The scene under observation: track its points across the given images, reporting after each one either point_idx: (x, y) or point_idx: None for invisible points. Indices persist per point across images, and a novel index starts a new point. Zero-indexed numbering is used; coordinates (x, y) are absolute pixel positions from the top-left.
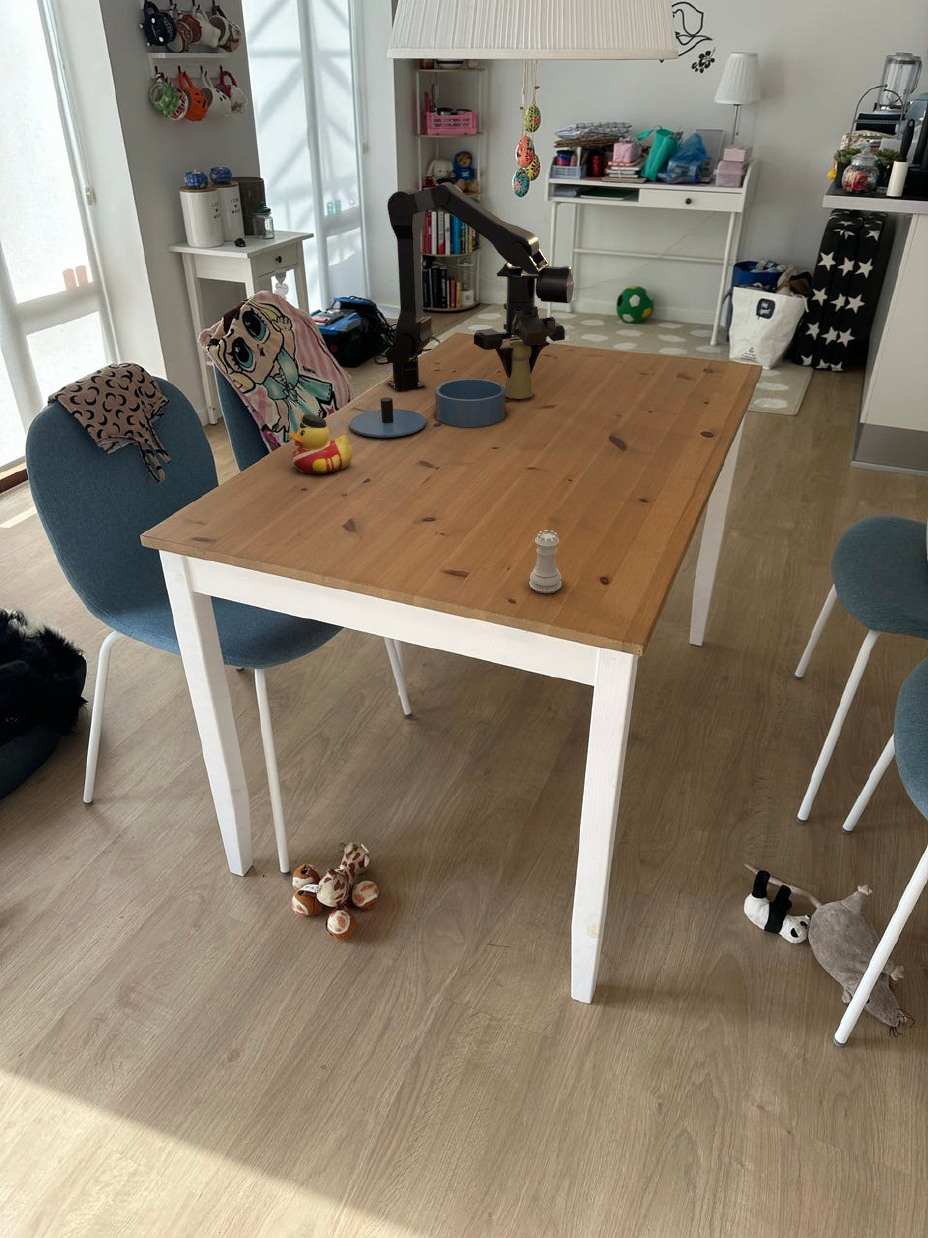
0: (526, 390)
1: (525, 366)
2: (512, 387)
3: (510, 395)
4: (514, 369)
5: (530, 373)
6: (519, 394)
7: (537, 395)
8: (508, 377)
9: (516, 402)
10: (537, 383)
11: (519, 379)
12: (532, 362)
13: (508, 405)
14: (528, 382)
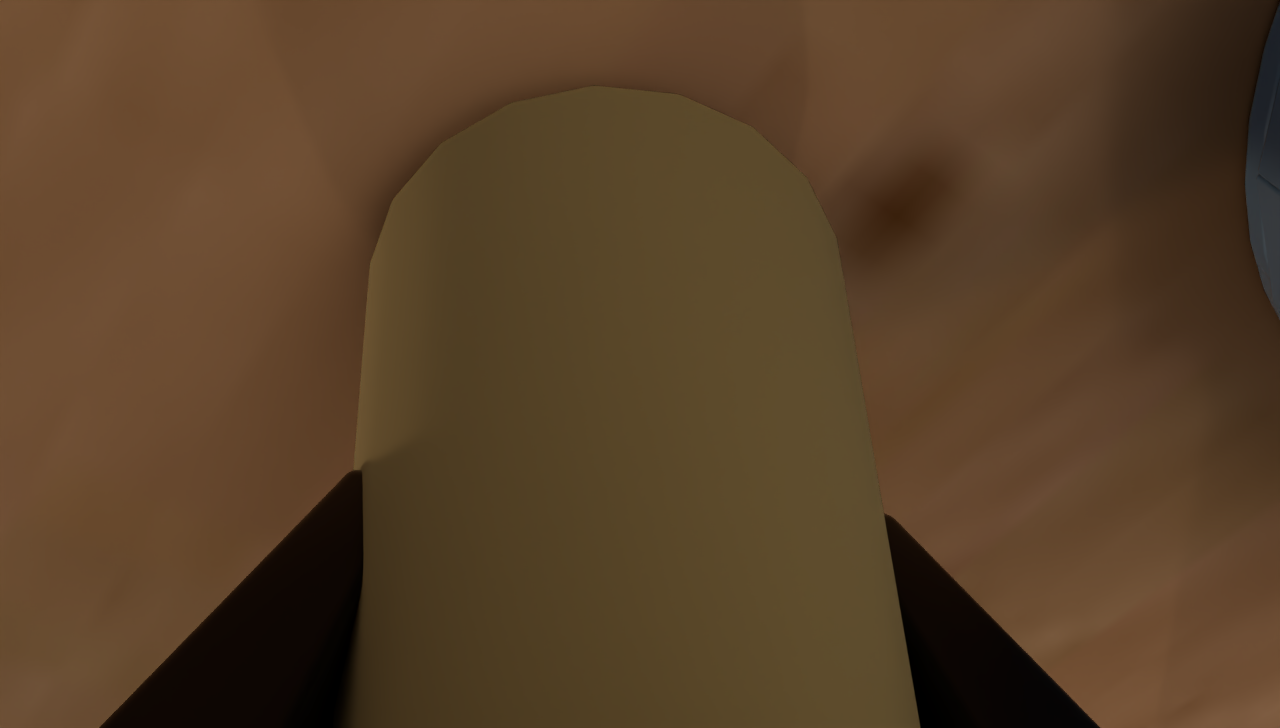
0: (601, 160)
1: (613, 581)
2: (849, 323)
3: (838, 261)
4: (893, 611)
5: (354, 488)
6: (745, 161)
7: (278, 196)
8: None
9: (799, 94)
10: (54, 581)
11: (779, 349)
12: (253, 701)
13: (1016, 40)
14: (527, 264)
